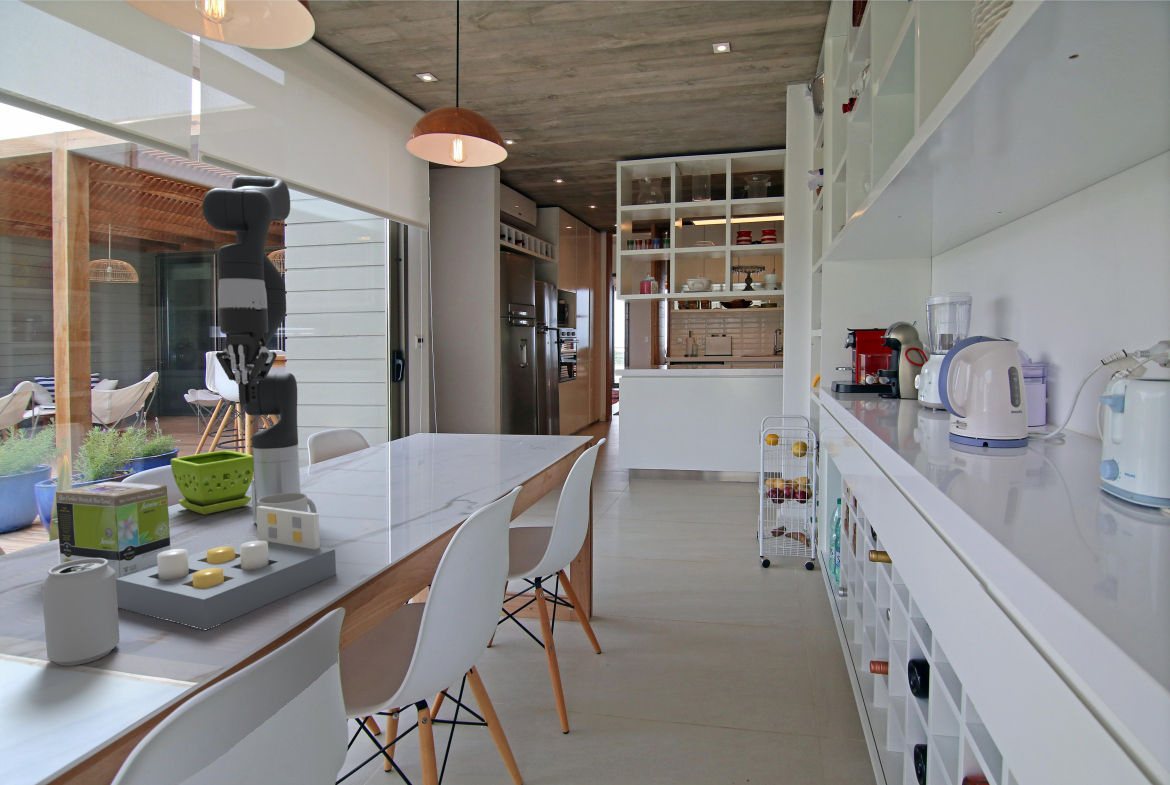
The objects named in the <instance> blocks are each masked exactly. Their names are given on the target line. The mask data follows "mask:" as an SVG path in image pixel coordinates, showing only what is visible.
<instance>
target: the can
mask: <svg viewBox="0 0 1170 785" xmlns="http://www.w3.org/2000/svg"><path fill="white" fill-rule="evenodd" d="M107 564H108V560H106V559H103V558H86V559H79V560H74V561H69V562H65V563H62V564H61V563H58V564H56V565H53V566H52V567H51V568H49V569H48V570H47V571H46V573H47V574H48V575H47V577H46V578H45V579H44V580H43V581H42V583H41V595H42V607H43V619H44V634H45V644H46V657H47V659H48V660H49V661H51V662H53V663H56V664H57V665H60V666H65V667H66V666H68V667H69V666H78V665H83V664H87V663H90V662H94V661H97V660H99V659H102V658H104V657H106V656H107V655H109V654H110V653H111V652H112V651H113V650H114V648H115V647H116V646H117V645H119V643H120V624H119V612H118V610H119V608H118V604H117V590H116V579H115V570H114V569H112V568H111V567H109V566H108V565H107ZM112 649H113V650H112ZM111 650H112V651H111ZM101 657H102V658H101Z"/></svg>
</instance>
